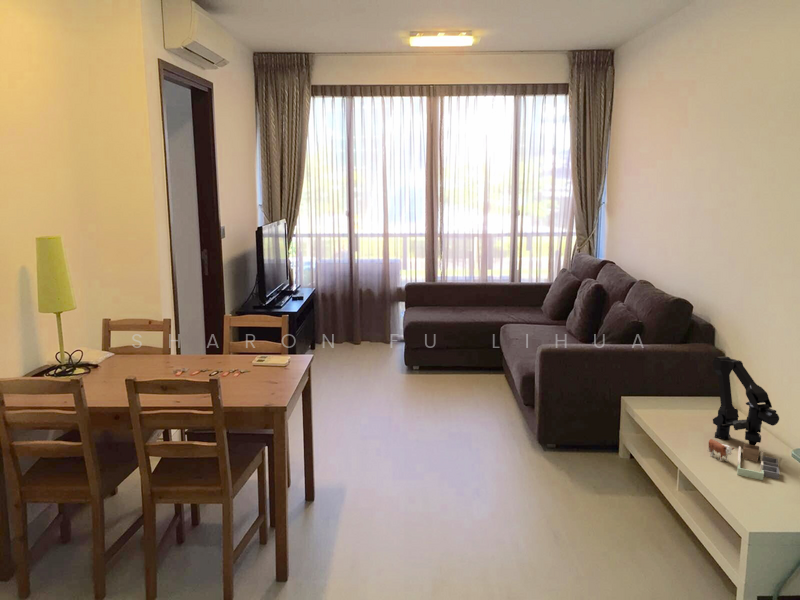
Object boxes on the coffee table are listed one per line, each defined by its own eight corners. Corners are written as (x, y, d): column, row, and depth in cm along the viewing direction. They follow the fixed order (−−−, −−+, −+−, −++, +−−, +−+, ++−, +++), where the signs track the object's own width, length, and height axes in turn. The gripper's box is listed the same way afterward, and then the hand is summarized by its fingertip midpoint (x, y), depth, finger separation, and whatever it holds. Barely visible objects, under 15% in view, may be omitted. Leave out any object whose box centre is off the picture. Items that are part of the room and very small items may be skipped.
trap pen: (738, 451, 292) (739, 445, 291) (776, 459, 285) (777, 452, 284) (737, 474, 269) (738, 468, 268) (779, 483, 262) (780, 477, 261)
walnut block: (742, 453, 290) (744, 443, 289) (757, 456, 288) (759, 446, 287) (742, 458, 285) (743, 447, 284) (757, 461, 282) (759, 451, 281)
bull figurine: (726, 466, 277) (729, 448, 275) (704, 453, 290) (706, 436, 288) (735, 465, 278) (737, 447, 276) (712, 452, 291) (714, 435, 289)
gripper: (735, 407, 300) (731, 438, 303) (734, 420, 284) (730, 452, 287) (762, 411, 295) (758, 443, 298) (763, 425, 279) (758, 458, 282)
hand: (750, 449), depth 291 cm, fingers closed
